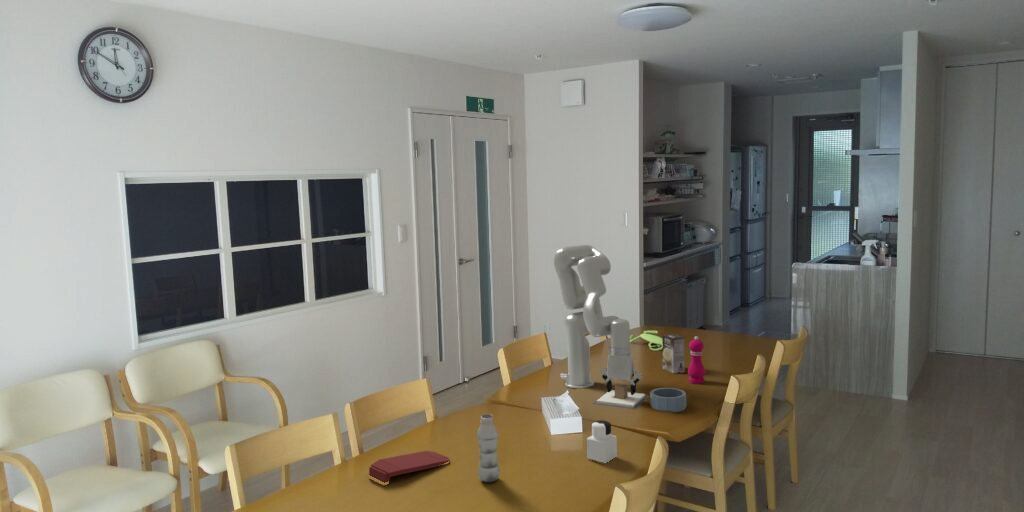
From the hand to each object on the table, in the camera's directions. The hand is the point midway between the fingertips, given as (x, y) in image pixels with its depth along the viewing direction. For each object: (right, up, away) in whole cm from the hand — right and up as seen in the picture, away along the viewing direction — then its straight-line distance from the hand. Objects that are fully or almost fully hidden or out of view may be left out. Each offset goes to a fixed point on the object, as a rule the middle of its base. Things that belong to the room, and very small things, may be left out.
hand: (621, 392), depth 287 cm
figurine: (+30, +8, +91) cm, 96 cm away
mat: (0, -3, 0) cm, 3 cm away
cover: (0, -3, 0) cm, 3 cm away
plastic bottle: (-50, -14, -69) cm, 87 cm away
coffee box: (+30, +2, +41) cm, 51 cm away
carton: (-76, -14, -59) cm, 97 cm away
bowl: (+17, -4, -9) cm, 19 cm away
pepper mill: (+36, 0, +22) cm, 42 cm away
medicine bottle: (-15, -11, -56) cm, 59 cm away
